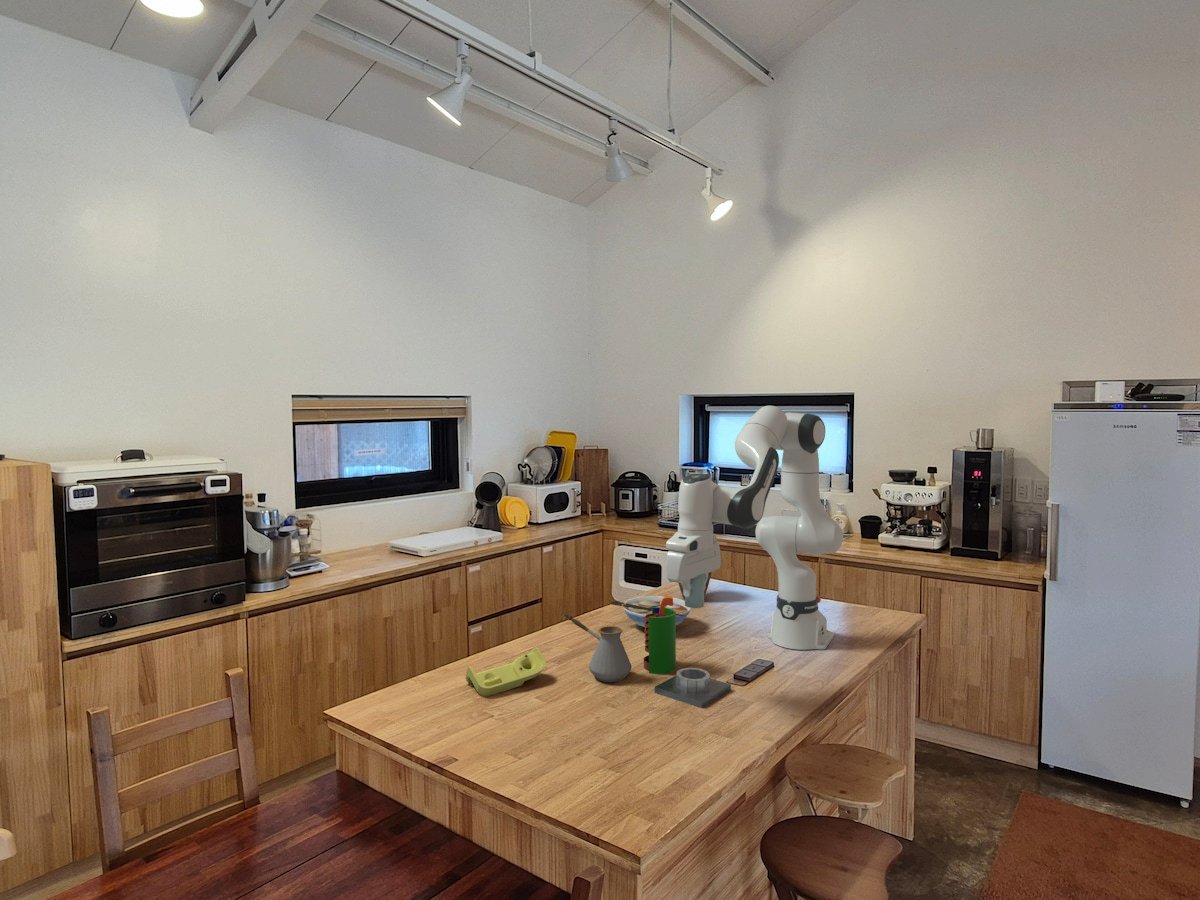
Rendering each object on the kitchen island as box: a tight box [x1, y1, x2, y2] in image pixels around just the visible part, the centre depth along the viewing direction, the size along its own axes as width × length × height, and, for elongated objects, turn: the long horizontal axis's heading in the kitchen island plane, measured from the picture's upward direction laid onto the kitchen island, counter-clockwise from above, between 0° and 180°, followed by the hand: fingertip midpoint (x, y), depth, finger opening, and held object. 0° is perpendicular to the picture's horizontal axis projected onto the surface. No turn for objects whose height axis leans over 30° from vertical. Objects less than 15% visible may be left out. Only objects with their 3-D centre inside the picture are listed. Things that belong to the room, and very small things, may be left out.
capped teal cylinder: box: [684, 574, 705, 609], centre depth 181 cm, size 5×5×10 cm
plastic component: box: [464, 647, 547, 697], centre depth 187 cm, size 20×7×10 cm
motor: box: [643, 595, 677, 675], centre depth 198 cm, size 10×9×20 cm
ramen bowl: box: [611, 595, 692, 628], centre depth 234 cm, size 25×23×8 cm
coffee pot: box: [560, 612, 632, 683], centre depth 194 cm, size 21×12×15 cm, turn 58°
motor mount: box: [654, 667, 732, 709], centre depth 183 cm, size 14×14×4 cm
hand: (694, 593), depth 181 cm, fingers closed on capped teal cylinder, 5 cm apart
